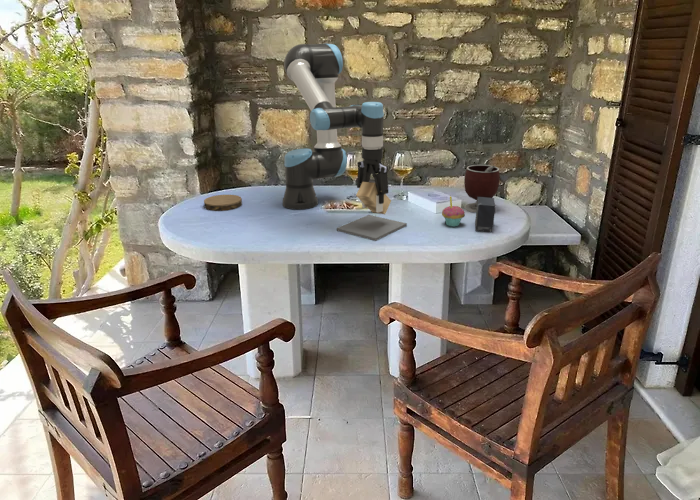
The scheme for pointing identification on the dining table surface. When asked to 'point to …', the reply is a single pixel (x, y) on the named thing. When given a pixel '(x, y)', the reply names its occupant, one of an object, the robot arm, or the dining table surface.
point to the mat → (371, 227)
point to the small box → (485, 214)
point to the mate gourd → (480, 183)
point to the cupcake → (453, 214)
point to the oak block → (371, 197)
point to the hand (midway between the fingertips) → (372, 209)
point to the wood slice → (223, 202)
